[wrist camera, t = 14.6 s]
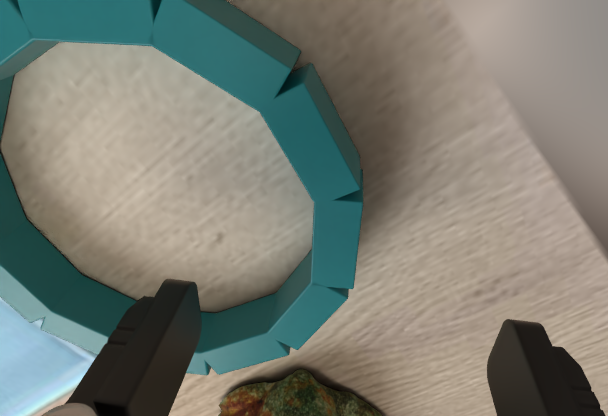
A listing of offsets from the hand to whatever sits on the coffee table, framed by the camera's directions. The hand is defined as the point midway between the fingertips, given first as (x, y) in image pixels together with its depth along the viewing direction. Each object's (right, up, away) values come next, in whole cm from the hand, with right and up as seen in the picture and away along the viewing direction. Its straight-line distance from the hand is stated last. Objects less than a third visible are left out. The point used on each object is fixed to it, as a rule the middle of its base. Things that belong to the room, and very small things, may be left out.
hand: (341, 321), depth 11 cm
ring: (-7, +3, +6) cm, 10 cm away
